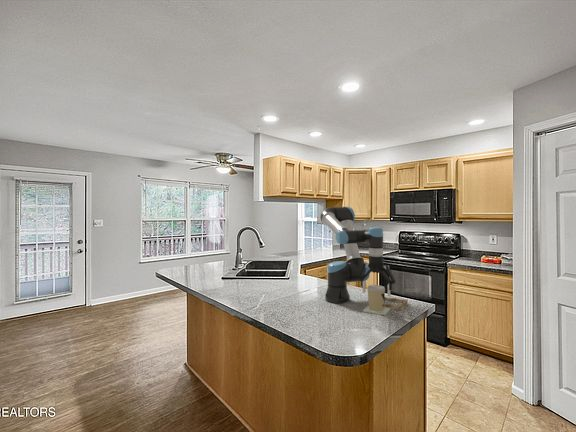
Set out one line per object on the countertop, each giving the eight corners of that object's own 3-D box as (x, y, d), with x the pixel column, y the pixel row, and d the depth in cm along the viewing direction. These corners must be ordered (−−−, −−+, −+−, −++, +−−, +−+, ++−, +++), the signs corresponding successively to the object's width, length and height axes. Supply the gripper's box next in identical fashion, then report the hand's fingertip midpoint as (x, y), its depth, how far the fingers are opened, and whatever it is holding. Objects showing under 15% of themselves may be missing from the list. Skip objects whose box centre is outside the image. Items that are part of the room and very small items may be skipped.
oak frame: (374, 306, 166) (374, 302, 166) (381, 299, 178) (381, 296, 178) (401, 310, 158) (401, 306, 158) (407, 303, 170) (407, 299, 170)
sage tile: (362, 311, 157) (362, 310, 157) (369, 305, 167) (369, 304, 167) (385, 315, 150) (385, 313, 150) (391, 309, 160) (391, 307, 160)
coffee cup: (386, 311, 153) (386, 289, 153) (368, 311, 155) (367, 288, 155) (384, 306, 162) (383, 285, 162) (367, 305, 164) (366, 284, 164)
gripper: (351, 254, 162) (352, 292, 163) (398, 258, 149) (398, 299, 149) (356, 253, 169) (356, 289, 169) (401, 256, 155) (401, 295, 155)
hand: (376, 294), depth 159 cm, fingers open, 13 cm apart
